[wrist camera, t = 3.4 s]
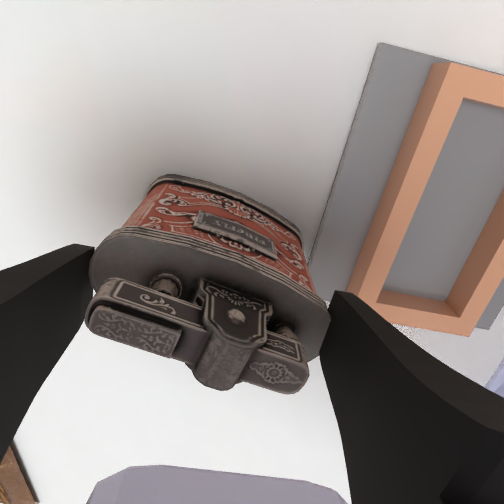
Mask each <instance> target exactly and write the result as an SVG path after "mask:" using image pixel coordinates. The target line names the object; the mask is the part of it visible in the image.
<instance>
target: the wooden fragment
mask: <svg viewBox="0 0 504 504" xmlns="http://www.w3.org/2000/svg"><path fill="white" fill-rule="evenodd" d="M0 503H3V504H35V501H34V499H33V496H32V494H31V492H30V490H29V488H28V486H27V484H26V482H25V479H24V476H23V475H22V473H21V471H20V468H19V466H18V464H17V461H16V458H15V456H14V454H13V451H12V450H11V447H10V446H9V448H8V450H7V452H6V454H5V456H4V458H3V460H2V462H1V464H0ZM37 504H38V503H37Z"/></svg>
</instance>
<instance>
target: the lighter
mask: <svg viewBox="0 0 504 504" xmlns="http://www.w3.org/2000/svg"><path fill="white" fill-rule="evenodd" d="M303 249H304V243H303V240H302V237H301V234H300V232H299V229H298V228H297V227H296V226H295V225H294V224H292V223H291V222H289V221H288V220H286V219H285V218H283V217H282V216H280V215H279V214H277V213H276V212H274V211H273V210H272V209H270V208H268V207H266V206H264V205H263V204H261V203H259V202H257V201H255V200H253V199H251V198H249V197H247V196H245V195H243V194H241V193H239V192H236V191H233V190H230V189H227V188H224V187H222V186H219V185H216V184H213V183H210V182H207V181H202V180H198V179H194V178H189V177H185V176H180V175H176V174H167V175H164V176H161V177H159V178H158V179H157V180H156V181H154V182H153V183H152V184H151V186H150V187H149V188H148V190H147V192H146V194H145V195H144V201H143V202H142V203H141V204H140V205H139V207H138V208H137V209H136V210H135V212H134V213H133V214H132V215H131V217H130V218H129V219H128V220H127V222H126V223H125V224H124V225H123V226H122V228H119V229H117V230H114V231H113V232H112V233H111V234H110V235H109V236H107V237H106V238H105V239H104V240H103V241H102V243H101V244H100V245H99V246H98V247H97V248H96V250H95V252H94V254H93V256H92V258H91V260H90V266H89V277H90V281H91V285H92V287H93V289H94V290H95V292H96V294H95V296H94V297H93V298H92V300H91V301H90V303H89V305H88V307H87V310H86V313H85V320H84V321H85V324H86V326H87V328H89V330H90V331H91V332H92V333H94V334H96V335H98V336H101V337H104V338H108V339H111V340H114V341H117V342H120V343H123V344H126V345H129V346H132V347H136V348H139V349H142V350H145V351H148V352H151V353H154V354H157V355H160V356H163V357H167V358H173V359H176V360H179V361H182V362H185V364H186V365H187V366H188V367H189V368H190V369H191V370H192V372H193V375H194V377H195V378H196V379H197V380H198V381H199V382H200V383H202V384H203V385H204V386H207V387H210V388H213V389H216V390H220V391H224V390H229V389H231V388H233V386H234V385H235V384H238V383H241V382H242V381H244V382H247V383H250V384H254V385H257V386H260V387H263V388H266V389H269V390H272V391H275V392H278V393H283V394H294V393H296V392H298V391H299V390H300V389H301V388H302V387H303V386H304V384H305V383H306V381H307V380H308V377H309V368H308V363H307V362H309V361H311V360H313V359H314V358H316V357H317V356H319V350H320V348H321V345H322V342H323V340H324V337H325V334H326V332H327V329H328V327H329V324H330V321H331V317H330V314H329V312H328V309H327V306H326V303H325V302H324V301H323V300H322V299H321V298H320V297H319V296H318V295H317V293H316V290H315V287H314V284H313V281H312V278H311V275H310V272H309V269H308V266H307V263H306V260H305V257H304V254H303Z"/></svg>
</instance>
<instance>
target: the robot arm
mask: <svg viewBox="0 0 504 504" xmlns="http://www.w3.org/2000/svg"><path fill="white" fill-rule="evenodd" d="M94 252H95V247H91V246H85V245H80V244H72V245H68V246H65V247H62V248H60V249H57V250H55V251H52V252H50V253H47V254H44V255H42V256H39V257H37V258H34V259H32V260H29V261H26V262H24V263H21V264H18V265H16V266H13V267H10V268H7V269H4V270H1V271H0V464H1V462H2V460H3V458H4V456H5V454H6V452H7V450H8V448H9V446H10V444H11V442H12V440H13V438H14V436H15V434H16V432H17V430H18V428H19V426H20V424H21V422H22V420H23V418H24V416H25V414H26V412H27V411H28V409H29V407H30V405H31V403H32V401H33V399H34V397H35V396H36V394H37V392H38V391H39V389H40V387H41V386H42V384H43V383H44V381H45V380H46V378H47V377H48V375H49V374H50V372H51V371H52V369H53V368H54V366H55V365H56V363H57V362H58V360H59V359H60V357H61V356H62V354H63V353H64V351H65V350H66V348H67V347H68V345H69V344H70V342H71V341H72V339H73V338H74V336H75V335H76V333H77V332H78V330H79V329H80V327H81V325H82V323H83V321H84V319H85V313H86V310H87V307H88V305H89V303H90V301H91V300H92V298H93V287H92V285H91V281H90V277H89V266H90V260H91V258H92V256H93V254H94ZM328 312H329V314H330V317H331V321H330V324H329V327H328V329H327V332H326V334H325V337H324V340H323V342H322V345H321V348H320V350H319V355H320V362H321V366H322V370H323V374H324V377H325V381H326V384H327V388H328V391H329V395H330V398H331V402H332V405H333V409H334V412H335V415H336V419H337V422H338V426H339V430H340V434H341V439H342V445H343V450H344V456H345V462H346V467H347V474H348V481H349V488H350V494H351V501H352V504H504V359H503V361H502V362H501V364H500V365H499V367H498V368H497V370H496V371H495V373H494V374H493V376H492V377H491V379H490V381H489V382H488V384H487V385H486V387H485V388H484V387H483V386H481V385H479V384H477V383H476V382H474V381H472V380H470V379H468V378H467V377H465V376H463V375H461V374H460V373H458V372H457V371H455V370H453V369H452V368H450V367H448V366H447V365H445V364H444V363H442V362H441V361H439V360H438V359H436V358H435V357H433V356H432V355H430V354H429V353H427V352H426V351H425V350H423V349H422V348H421V347H419V346H418V345H417V344H415V343H414V342H413V341H411V340H410V339H409V338H407V337H406V336H405V335H404V334H402V333H401V332H400V331H399V330H397V329H396V328H395V327H394V326H392V325H391V324H390V323H389V322H388V321H386V320H385V319H384V318H383V317H382V316H381V315H379V314H378V313H377V312H376V311H375V310H374V309H372V308H371V307H370V306H369V305H368V304H366V303H365V302H364V301H363V300H361V299H360V298H359V297H357V296H356V295H354V294H353V293H350V292H344V291H338V290H335V291H334V294H333V297H332V299H331V302H330V305H329V308H328ZM86 504H347V503H346V501H345V500H344V499H343V498H342V497H341V496H340V495H339V494H338V493H337V492H336V491H334V490H332V489H330V488H327V487H324V486H321V485H318V484H314V483H311V482H308V481H303V480H294V479H285V478H276V477H267V476H258V475H249V474H240V473H231V472H222V471H213V470H204V469H195V468H186V467H177V466H168V465H150V466H133V467H128V468H126V469H124V470H122V471H120V472H118V473H116V474H114V475H112V476H109V477H107V478H105V479H103V480H101V481H99V482H97V484H96V486H95V488H94V490H93V492H92V494H91V495H90V497H89V499H88V501H87V503H86Z"/></svg>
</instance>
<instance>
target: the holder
mask: <svg viewBox="0 0 504 504" xmlns="http://www.w3.org/2000/svg"><path fill="white" fill-rule="evenodd" d="M308 269H309V272H310V275H311V278H312V281H313V284H314V287H315V290H316V293H317V295H318V296H319V297H320V298H321V299H322V300H326V301H331V299H332V297H333V294H334V291H335V290H338V291H344V292H350V293H353V294H354V295H356V296H357V297H359V298H360V299H361V300H363V301H364V302H365V303H366V304H368V305H369V306H370V307H371V308H372V309H374V310H375V311H376V312H377V313H378V314H379V315H381V316H382V317H383V318H384V319H385V320H386V321H388V322H389V323H394V324H399V325H405V326H411V327H416V328H422V329H428V330H433V331H439V332H444V333H450V334H456V335H461V336H467V337H469V336H470V334H471V332H472V331H473V329H474V327H476V328H481V329H487V330H489V328H490V327H491V325H492V323H493V322H494V320H495V318H496V317H497V315H498V313H499V312H500V310H501V308H502V307H503V305H504V75H502V74H498V73H495V72H491V71H487V70H483V69H479V68H476V67H472V66H468V65H464V64H461V63H457V62H453V61H449V60H445V59H442V58H438V57H434V56H430V55H427V54H423V53H419V52H415V51H411V50H408V49H404V48H400V47H396V46H393V45H389V44H385V43H380V44H378V47H377V50H376V53H375V56H374V59H373V62H372V66H371V69H370V72H369V75H368V78H367V81H366V84H365V87H364V91H363V94H362V97H361V100H360V103H359V106H358V109H357V112H356V116H355V119H354V122H353V125H352V128H351V131H350V134H349V137H348V141H347V144H346V147H345V150H344V153H343V156H342V159H341V163H340V166H339V169H338V172H337V175H336V178H335V181H334V184H333V188H332V191H331V194H330V197H329V200H328V203H327V206H326V209H325V213H324V216H323V219H322V222H321V225H320V228H319V231H318V235H317V238H316V241H315V244H314V247H313V250H312V253H311V256H310V260H309V263H308Z"/></svg>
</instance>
